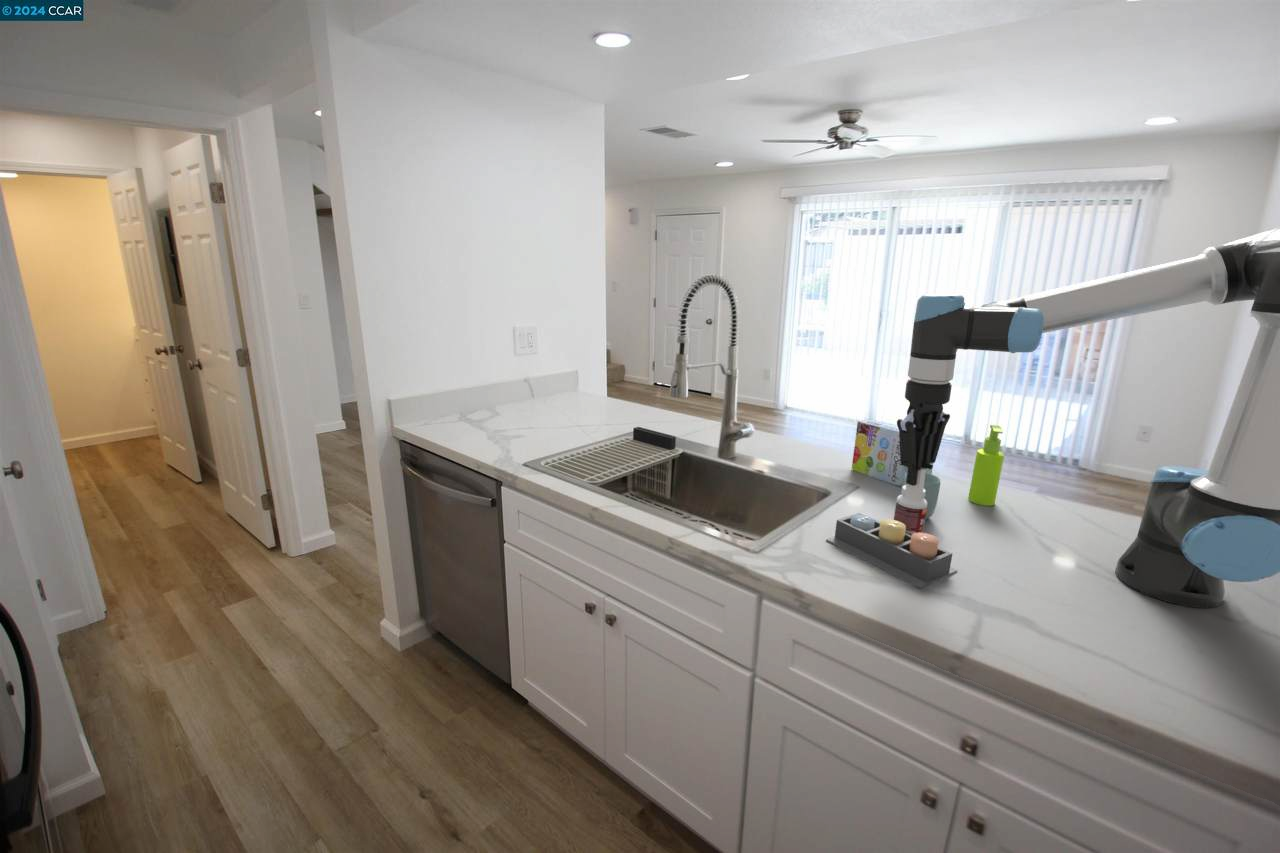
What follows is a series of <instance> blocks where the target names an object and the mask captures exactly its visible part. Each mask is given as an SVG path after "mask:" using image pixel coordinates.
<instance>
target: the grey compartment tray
mask: <svg viewBox="0 0 1280 853" xmlns="http://www.w3.org/2000/svg"><path fill="white" fill-rule="evenodd" d="M853 515H864V516H866V515H865V514H862V513H860V512H859V513H858V512H856V513H855V514H852V515H848V516H845V517H841V518H839V519H836V523H835V533H834V536H831V537H828V538H826V539H825V540H826V542H828V543H830V544H832V545H834V546H836V547H838V548H839V549H842V550H844V551H846V552H848V553H849V554H852V555H854V556H855V557H857V558H858V559H861V560H863V561H865V562H867V563H869V564H871V565H873V566H875V567H877V568H879V569H881V570H883V571H884V572H887V573H889V574H890V575H893V576H894V577H897V578H898V579H900V580H902V581H904V582H906V583H908V584H910V585H912V586H914V587H915V588H918V589H923V588H924V587H927V586H929V585H931V584H934V583H935V582H938V581H940V580H943V579H945V578H947V577H950V576H951V575H954V574H956V573H958V569H955V568H953V567H951V566H952V558H953V552H950V551H948V550H946V549H943V548H940V547H939V546H938V550H937V556H936V557H935V558H932V559H930V560H927V559H925V558H922V557H920V556H918V555H916V554H914V553H912V552H909V548H910V542H911V535H909V534H907V533H905V536H904V542H903V543H901V544H898V545H894V544H892V543H890V542H888V541H886V540H883V539H881V538H879V537H878V535H879V528H880V522H881V521H879V520H877V519H875V518H873V519H874V520H875V524H874V529H871V530H869V531H864V530H862V529H860V528H857V527H855V526H853V525H851V524H850V521H851V517H852V516H853Z"/></svg>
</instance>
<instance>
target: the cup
mask: <svg viewBox="0 0 1280 853" xmlns="http://www.w3.org/2000/svg"><path fill="white" fill-rule="evenodd" d="M906 479H907V473H905V475H904V479H903V485H902V487H903V486H904V485H906ZM902 487H901V488H902ZM924 489H925V490H926V493H925V497H924V499H925V500H926V501H927V510H926V516H925V520H927V519H930V518H931V517H932V516H933V514H934V513H935V511H936V507H937V504H938V500H939V494H940V489H941V479H940V477H939V476H936V475H934V474H933V473H932V474H929V473H926V476H925V481H924ZM900 495H902V492H901V494H900Z"/></svg>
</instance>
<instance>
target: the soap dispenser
mask: <svg viewBox="0 0 1280 853" xmlns="http://www.w3.org/2000/svg"><path fill="white" fill-rule="evenodd" d="M989 428H990V433H989V436H987V437H985V438H984V443H983V448H979V449H977V450H976V456H975V458H974V459H975V460H974V465H973V470H972V475H971V476H972V477H971V481H970V487H969V492H968V496H967V497H968V498H967V499H968V501H970V502H971V503H974V505H975V504H976V505H979V506H985V507H986V506H987V507H989V506H994V505H995V503H996V499H997V498H996V497H997V494H998V489H999V483H1000V477H1001V473H1002V470H1003V463H1004V459H1005V454H1004V452H1001V451H1000V449H1001V448H1000V447H1001V443H1002V440H1001V439H1000V438H999V434H1003V429H1002V427H1001V426H1000V425H994V424H990V426H989Z"/></svg>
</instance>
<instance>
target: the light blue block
mask: <svg viewBox="0 0 1280 853" xmlns="http://www.w3.org/2000/svg"><path fill="white" fill-rule="evenodd" d="M852 515H853V516H852V517H851V521H850V524H851V525H853V526H855V527H857V528H860V529H862V530H864V531H869V530H871V529H874V524H875V520H876V519H875V518H872V517H870V516H868V515H865V514H863V515H854V514H852ZM864 515H865V516H864ZM874 519H875V520H874Z"/></svg>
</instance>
